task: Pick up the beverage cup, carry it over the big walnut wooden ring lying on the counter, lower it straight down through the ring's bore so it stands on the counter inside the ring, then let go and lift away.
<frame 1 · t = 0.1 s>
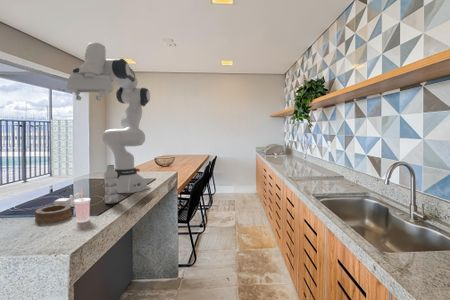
hand: (88, 100, 113), 52 cm above the countertop, tool tilted 20°, fingers open, 8 cm apart
walnut ring: (54, 217, 106), on the countertop
beverage cup: (82, 221, 102), on the countertop
plastic bottle: (111, 203, 127), on the countertop
container set: (71, 206, 123), on the countertop
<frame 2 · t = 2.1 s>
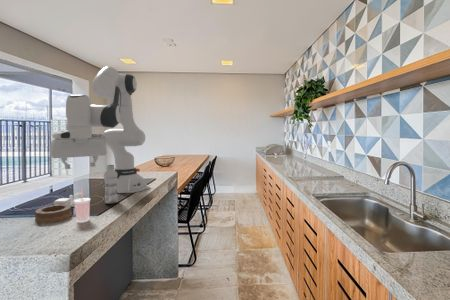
hand: (80, 167, 101), 22 cm above the countertop, tool pointing down, fingers open, 8 cm apart
nothing on the countertop moved.
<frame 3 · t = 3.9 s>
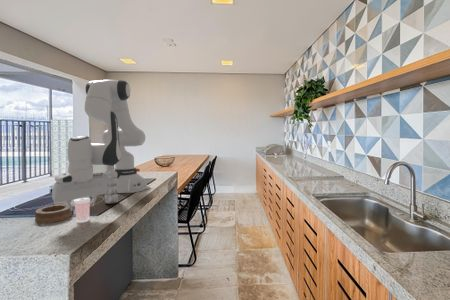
hand: (82, 207, 102), 5 cm above the countertop, tool pointing down, fingers closed on beverage cup, 6 cm apart
beverage cup: (82, 221, 102), on the countertop, touching gripper
everything else where it was.
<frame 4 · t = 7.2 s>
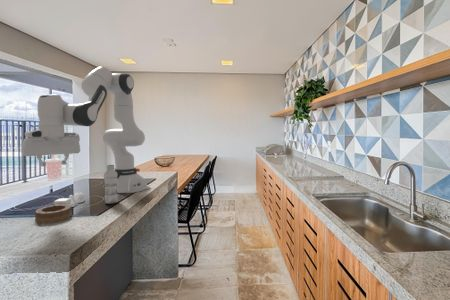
hand: (53, 165, 104), 23 cm above the countertop, tool pointing down, fingers closed on beverage cup, 6 cm apart
beverage cup: (54, 180, 104), point 16 cm above the countertop, touching gripper
everything else where it was.
when the fingers open (7 cm above the countertop, at t = 10.3 s): beverage cup stays where it is, resting in walnut ring.
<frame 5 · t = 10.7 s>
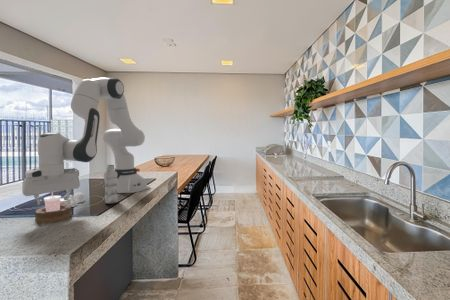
hand: (53, 202, 105), 7 cm above the countertop, tool pointing down, fingers open, 8 cm apart
beverage cup: (53, 218, 106), resting in walnut ring
everything else where it was.
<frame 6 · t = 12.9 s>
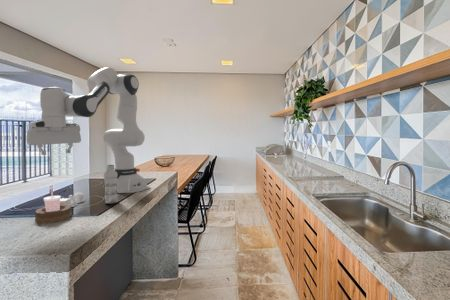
hand: (56, 153, 111), 27 cm above the countertop, tool pointing down, fingers open, 8 cm apart
nothing on the countertop moved.
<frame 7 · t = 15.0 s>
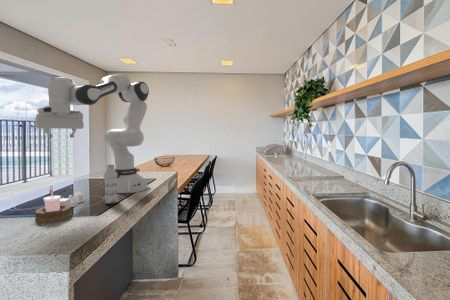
hand: (61, 137, 122), 34 cm above the countertop, tool pointing down, fingers open, 8 cm apart
nothing on the countertop moved.
at the end: beverage cup 0.3 cm off-centre on the walnut ring, point 0.0 cm above the walnut ring's base; beverage cup tilted 1°; the gripper is holding nothing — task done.
